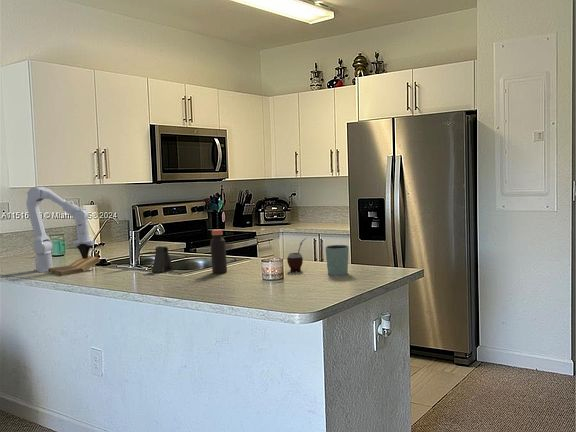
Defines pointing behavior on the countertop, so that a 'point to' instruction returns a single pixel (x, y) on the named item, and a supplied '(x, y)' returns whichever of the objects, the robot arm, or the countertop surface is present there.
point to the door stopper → (162, 260)
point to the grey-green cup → (337, 259)
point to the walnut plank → (64, 270)
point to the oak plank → (85, 262)
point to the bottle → (218, 252)
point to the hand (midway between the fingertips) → (85, 258)
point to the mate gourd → (295, 260)
